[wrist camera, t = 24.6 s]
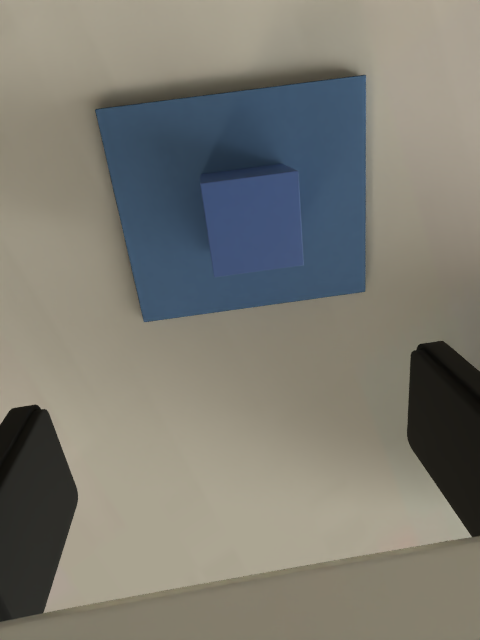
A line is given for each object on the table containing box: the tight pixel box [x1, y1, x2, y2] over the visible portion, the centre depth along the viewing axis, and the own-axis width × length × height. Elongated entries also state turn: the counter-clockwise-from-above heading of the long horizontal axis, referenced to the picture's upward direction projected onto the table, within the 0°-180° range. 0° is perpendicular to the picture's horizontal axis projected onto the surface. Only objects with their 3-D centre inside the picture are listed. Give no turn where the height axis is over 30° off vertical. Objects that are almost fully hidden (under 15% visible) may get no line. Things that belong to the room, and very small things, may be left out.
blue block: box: [200, 164, 304, 277], centre depth 22 cm, size 4×4×4 cm
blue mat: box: [95, 75, 366, 322], centre depth 25 cm, size 14×12×1 cm
